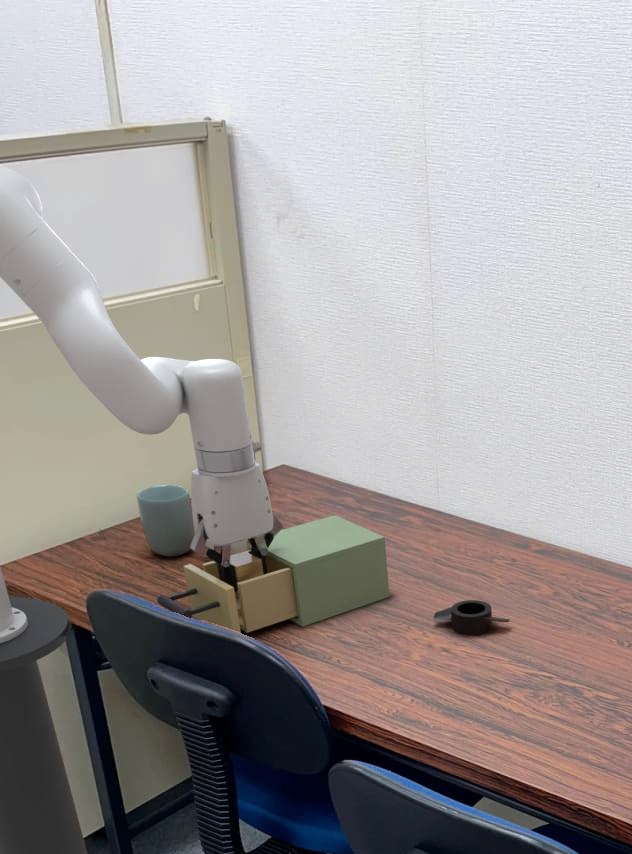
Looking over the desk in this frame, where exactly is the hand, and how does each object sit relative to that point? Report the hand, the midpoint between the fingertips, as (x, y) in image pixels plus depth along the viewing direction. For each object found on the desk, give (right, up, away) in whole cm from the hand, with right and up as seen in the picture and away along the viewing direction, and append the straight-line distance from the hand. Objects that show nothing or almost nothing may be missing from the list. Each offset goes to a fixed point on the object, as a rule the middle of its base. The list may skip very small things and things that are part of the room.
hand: (244, 583), depth 169 cm
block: (0, 0, 0) cm, 0 cm away
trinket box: (-8, +8, +23) cm, 26 cm away
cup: (-19, +9, +25) cm, 33 cm away
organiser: (+9, 0, +11) cm, 14 cm away
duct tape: (+32, -6, +4) cm, 33 cm away
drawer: (-1, -5, +2) cm, 5 cm away
